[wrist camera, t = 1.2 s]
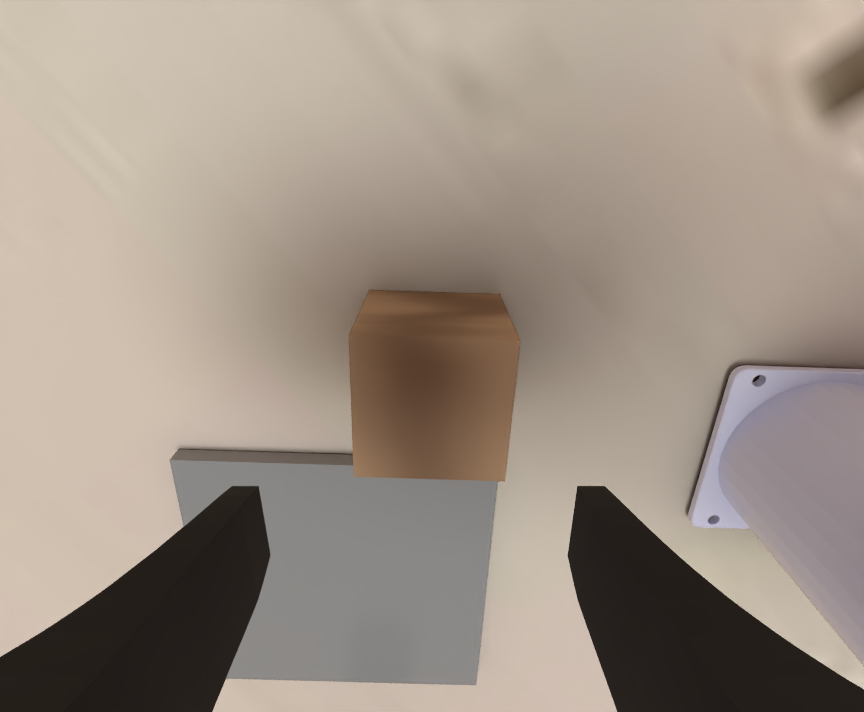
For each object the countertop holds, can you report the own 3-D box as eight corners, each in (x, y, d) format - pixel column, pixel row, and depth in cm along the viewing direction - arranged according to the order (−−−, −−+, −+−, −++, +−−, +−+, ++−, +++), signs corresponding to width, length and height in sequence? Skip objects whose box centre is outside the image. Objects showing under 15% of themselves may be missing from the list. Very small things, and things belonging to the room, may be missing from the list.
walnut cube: (499, 293, 19) (520, 340, 14) (489, 407, 21) (504, 481, 16) (369, 289, 19) (348, 335, 14) (371, 403, 21) (353, 476, 16)
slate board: (496, 459, 22) (498, 469, 21) (474, 670, 27) (476, 685, 27) (178, 449, 22) (169, 459, 21) (221, 663, 27) (215, 678, 26)
